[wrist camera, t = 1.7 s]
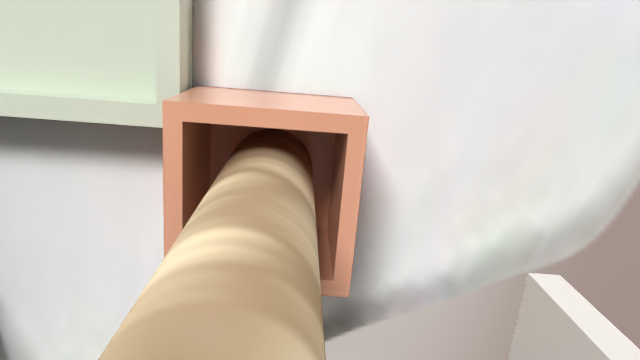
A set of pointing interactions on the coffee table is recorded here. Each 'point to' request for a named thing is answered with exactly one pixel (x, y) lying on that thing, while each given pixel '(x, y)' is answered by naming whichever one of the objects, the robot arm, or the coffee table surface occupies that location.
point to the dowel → (238, 268)
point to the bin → (256, 114)
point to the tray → (94, 59)
